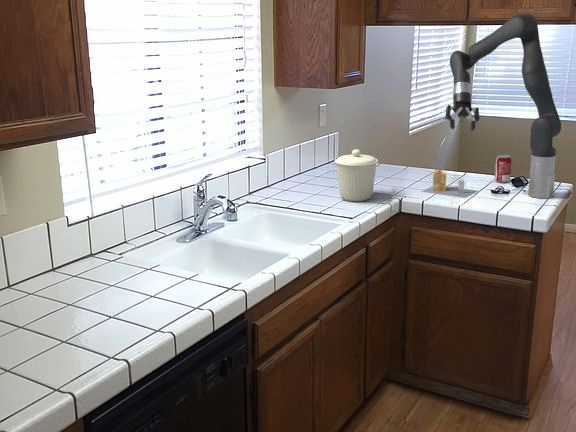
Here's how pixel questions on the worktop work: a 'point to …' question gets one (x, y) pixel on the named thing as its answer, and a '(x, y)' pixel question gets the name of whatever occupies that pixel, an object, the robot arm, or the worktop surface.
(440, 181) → the ochre knob
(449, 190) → the slate base plate
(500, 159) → the soda can
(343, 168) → the canister
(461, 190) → the metal shaft
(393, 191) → the worktop surface
